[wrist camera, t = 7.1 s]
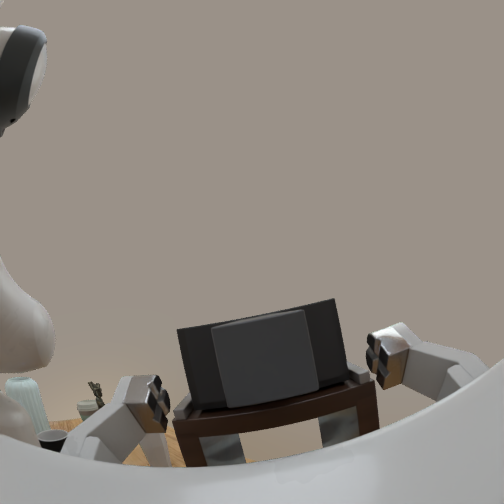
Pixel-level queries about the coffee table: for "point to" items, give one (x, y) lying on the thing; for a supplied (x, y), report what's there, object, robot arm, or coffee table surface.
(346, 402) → the stand
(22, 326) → the robot arm
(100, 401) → the statue
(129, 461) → the coffee table surface
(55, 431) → the mug
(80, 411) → the coffee cup
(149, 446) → the faceted bottle
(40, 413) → the vase
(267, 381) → the basket
